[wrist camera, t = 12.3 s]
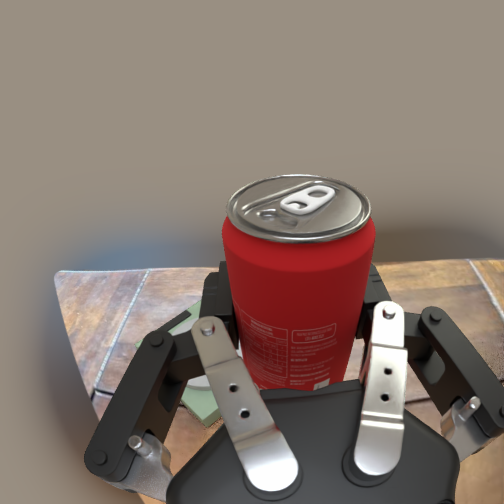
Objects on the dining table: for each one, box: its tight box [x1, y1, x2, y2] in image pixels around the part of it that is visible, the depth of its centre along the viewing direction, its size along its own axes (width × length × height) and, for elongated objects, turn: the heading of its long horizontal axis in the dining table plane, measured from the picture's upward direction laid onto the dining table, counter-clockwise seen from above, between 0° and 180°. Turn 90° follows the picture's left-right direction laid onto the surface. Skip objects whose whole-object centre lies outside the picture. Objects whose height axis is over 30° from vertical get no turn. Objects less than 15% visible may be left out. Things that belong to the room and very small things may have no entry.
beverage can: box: [222, 174, 375, 393], centre depth 13 cm, size 5×5×12 cm
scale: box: [135, 299, 243, 428], centre depth 37 cm, size 13×15×3 cm
